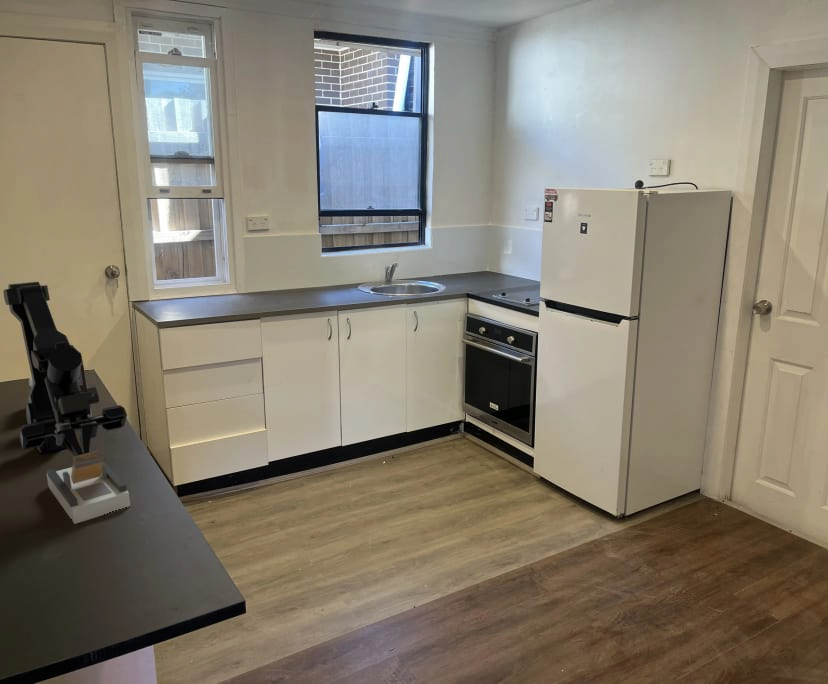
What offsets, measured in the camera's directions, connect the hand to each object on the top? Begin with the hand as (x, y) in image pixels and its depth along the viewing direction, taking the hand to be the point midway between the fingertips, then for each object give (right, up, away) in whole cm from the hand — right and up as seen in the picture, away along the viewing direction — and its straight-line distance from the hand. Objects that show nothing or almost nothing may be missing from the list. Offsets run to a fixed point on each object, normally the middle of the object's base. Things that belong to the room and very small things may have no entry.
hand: (86, 464), depth 128 cm
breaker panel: (-1, -7, +4) cm, 8 cm away
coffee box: (-26, +3, +45) cm, 52 cm away
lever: (-1, -3, +3) cm, 4 cm away
